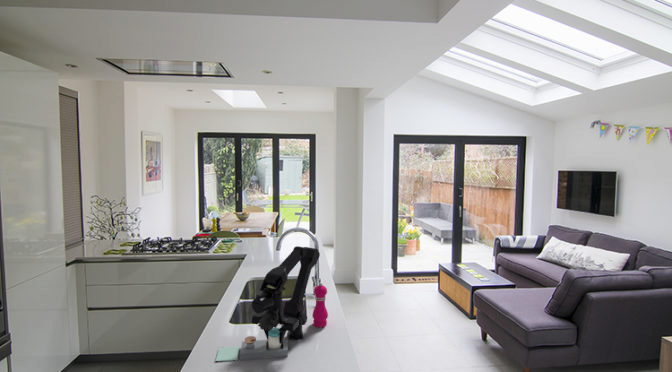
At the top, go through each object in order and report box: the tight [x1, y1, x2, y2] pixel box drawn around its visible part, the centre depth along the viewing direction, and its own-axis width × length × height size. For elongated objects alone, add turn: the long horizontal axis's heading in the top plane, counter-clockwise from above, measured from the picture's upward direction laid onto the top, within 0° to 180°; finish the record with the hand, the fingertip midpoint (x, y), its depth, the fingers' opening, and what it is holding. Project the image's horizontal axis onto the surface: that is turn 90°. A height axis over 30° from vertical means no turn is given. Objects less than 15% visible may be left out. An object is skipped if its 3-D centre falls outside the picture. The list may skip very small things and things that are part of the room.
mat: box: [214, 346, 241, 363], centre depth 137 cm, size 9×8×1 cm
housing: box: [239, 337, 289, 361], centre depth 140 cm, size 9×18×2 cm, turn 100°
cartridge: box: [267, 327, 282, 350], centre depth 140 cm, size 5×5×8 cm
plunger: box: [244, 335, 257, 349], centre depth 139 cm, size 4×4×6 cm
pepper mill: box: [312, 282, 329, 328], centre depth 163 cm, size 7×7×20 cm
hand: (274, 341), depth 140 cm, fingers closed on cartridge, 5 cm apart
